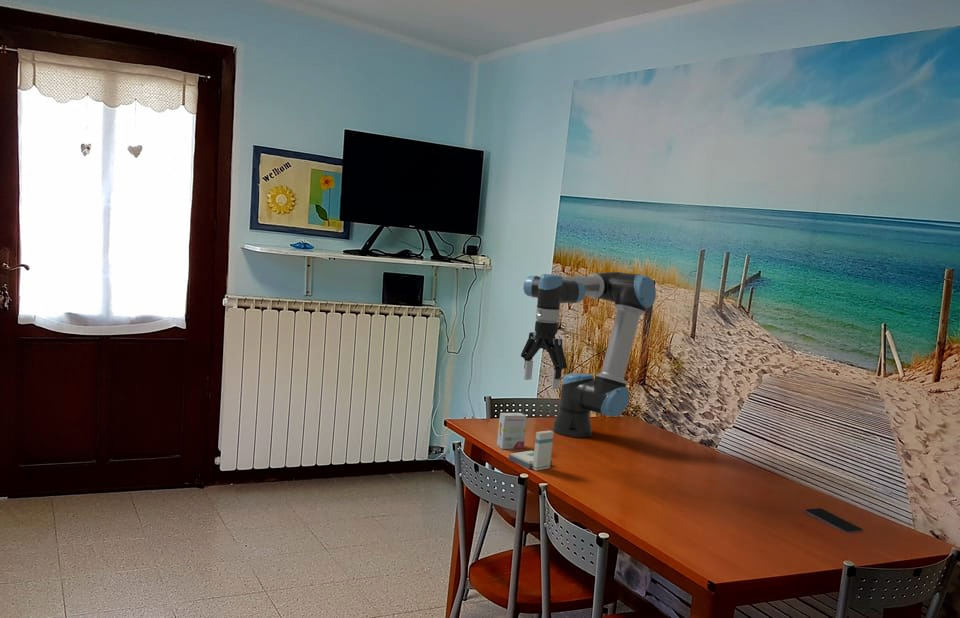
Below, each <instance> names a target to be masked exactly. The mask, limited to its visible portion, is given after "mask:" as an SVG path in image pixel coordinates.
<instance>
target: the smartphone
mask: <svg viewBox="0 0 960 618" xmlns="http://www.w3.org/2000/svg"><path fill="white" fill-rule="evenodd" d="M804 513H805V514H807V515H808V516H811V518H815V519H816V520H818V521H821V522H823V523H825V524H827V525H828V526H831V527H833V528H835V529H838V530H839V531H841V532H844V533H848V534H853V533H860V532H864V529H863V528H861V527H859V526H858V525H855V524H854V523H851V522H850V521H847V520H846V519H843V518H841V517H840V516H838V515H836V514H834V513H832V512H830V511H828V510H826V509H824V508H819V507H818V508H806V509H805V510H804Z"/></svg>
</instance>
